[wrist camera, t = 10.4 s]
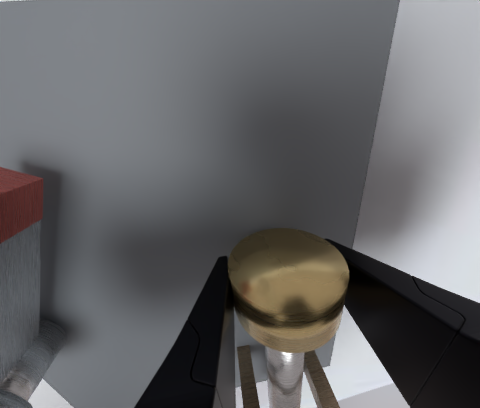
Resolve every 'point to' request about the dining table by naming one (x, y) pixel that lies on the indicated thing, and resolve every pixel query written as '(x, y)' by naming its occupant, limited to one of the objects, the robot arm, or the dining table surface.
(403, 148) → the dining table surface
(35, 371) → the ball-ended metal rod
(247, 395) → the eye staple
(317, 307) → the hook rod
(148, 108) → the flat gray base plate
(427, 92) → the dining table surface
